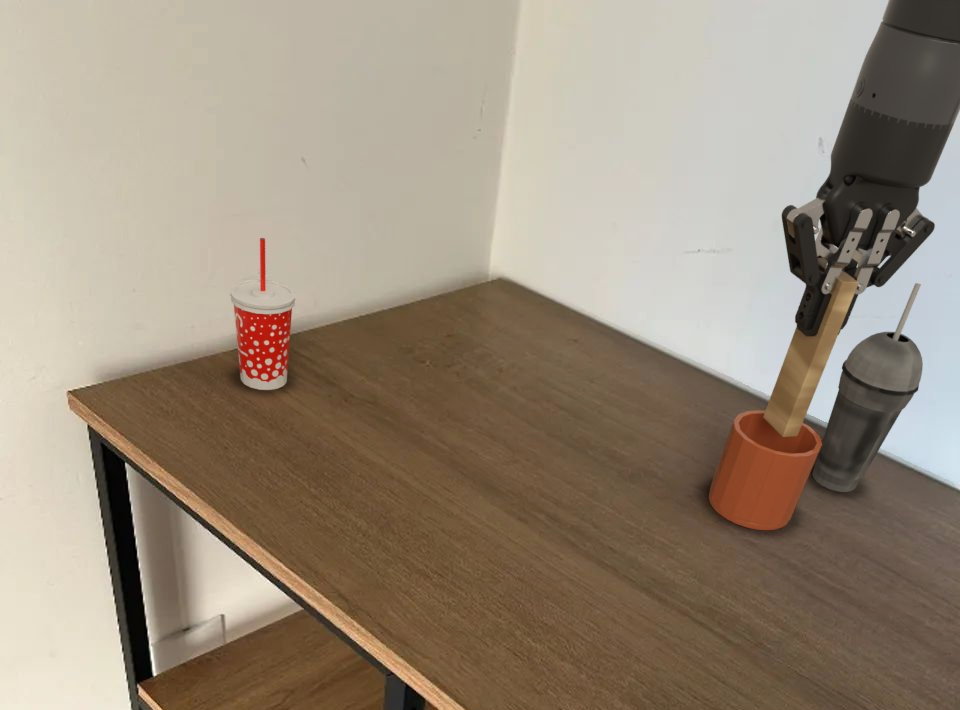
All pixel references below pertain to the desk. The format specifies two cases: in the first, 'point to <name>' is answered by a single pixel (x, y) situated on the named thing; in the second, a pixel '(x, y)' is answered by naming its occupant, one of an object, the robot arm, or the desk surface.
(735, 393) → the desk surface
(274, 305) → the beverage cup
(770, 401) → the wooden block
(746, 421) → the utensil cup
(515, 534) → the desk surface
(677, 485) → the desk surface
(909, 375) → the beverage cup
